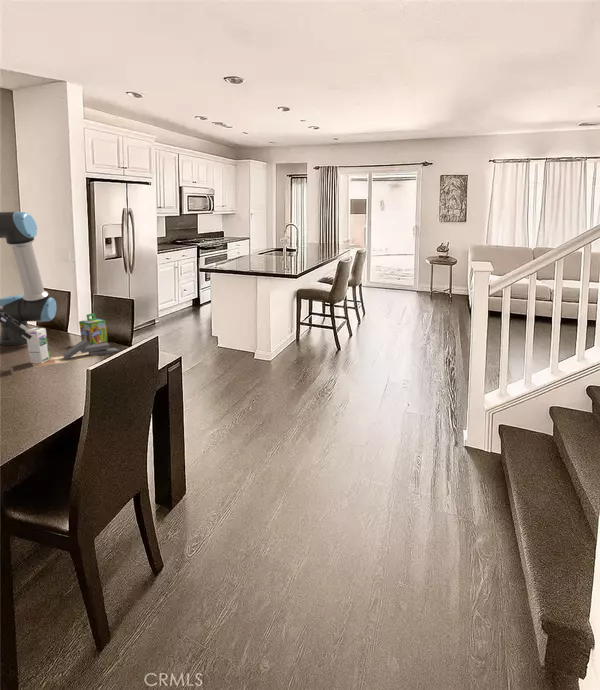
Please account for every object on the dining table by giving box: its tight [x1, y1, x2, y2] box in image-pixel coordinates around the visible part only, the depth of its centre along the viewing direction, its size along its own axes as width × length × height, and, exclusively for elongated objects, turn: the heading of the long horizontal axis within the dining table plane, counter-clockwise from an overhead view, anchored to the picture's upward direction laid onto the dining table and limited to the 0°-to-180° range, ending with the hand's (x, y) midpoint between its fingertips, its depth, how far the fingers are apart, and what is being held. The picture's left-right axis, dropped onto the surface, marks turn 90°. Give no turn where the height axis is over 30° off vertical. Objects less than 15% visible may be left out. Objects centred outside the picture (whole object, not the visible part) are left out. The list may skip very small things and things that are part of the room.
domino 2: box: [79, 341, 111, 353], centre depth 238 cm, size 5×2×12 cm
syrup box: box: [26, 327, 51, 364], centre depth 226 cm, size 6×6×14 cm
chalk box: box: [78, 313, 108, 345], centre depth 260 cm, size 9×9×15 cm
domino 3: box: [89, 347, 119, 356], centre depth 241 cm, size 5×2×12 cm
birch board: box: [31, 352, 99, 369], centre depth 233 cm, size 12×26×1 cm, turn 123°
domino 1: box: [61, 338, 91, 360], centre depth 234 cm, size 5×2×12 cm
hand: (35, 338), depth 224 cm, fingers open, 13 cm apart
